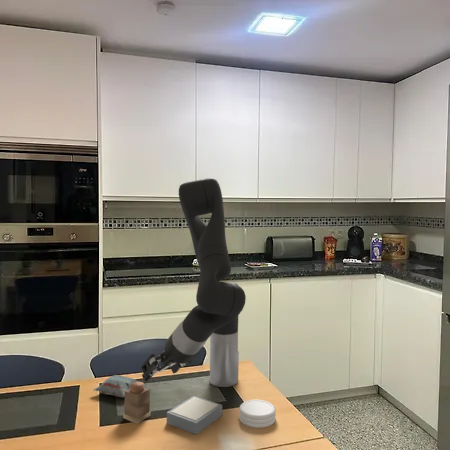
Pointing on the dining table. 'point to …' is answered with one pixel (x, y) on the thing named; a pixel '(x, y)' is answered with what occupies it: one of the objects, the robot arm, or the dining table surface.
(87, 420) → the dining table surface
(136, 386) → the dome-topped square block
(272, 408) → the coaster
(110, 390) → the packaged food
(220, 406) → the dock
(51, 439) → the dining table surface
